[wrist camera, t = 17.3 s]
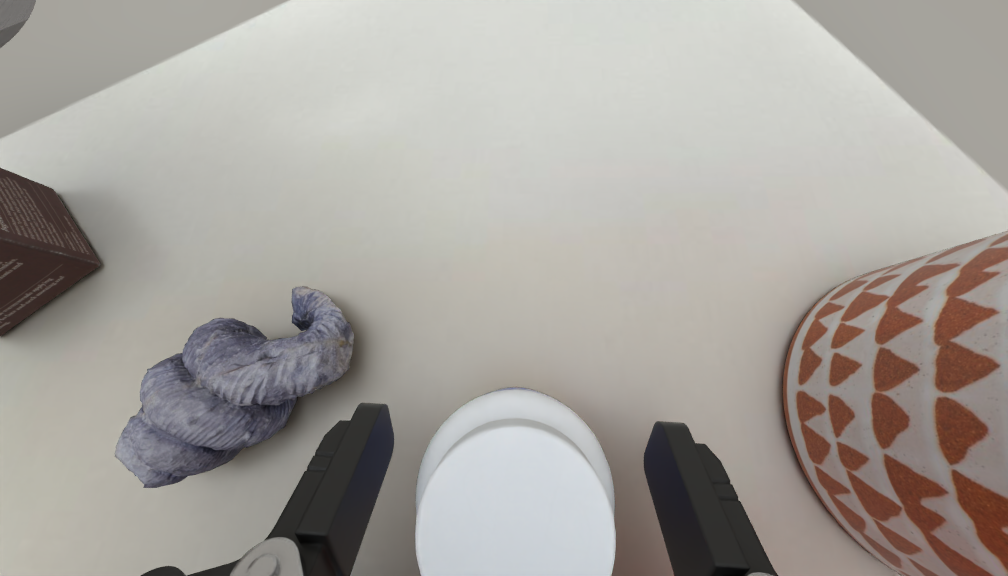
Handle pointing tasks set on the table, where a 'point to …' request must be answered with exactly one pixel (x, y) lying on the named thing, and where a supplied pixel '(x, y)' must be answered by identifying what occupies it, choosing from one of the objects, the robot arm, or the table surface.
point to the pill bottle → (515, 492)
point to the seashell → (231, 390)
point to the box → (36, 248)
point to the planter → (911, 409)
